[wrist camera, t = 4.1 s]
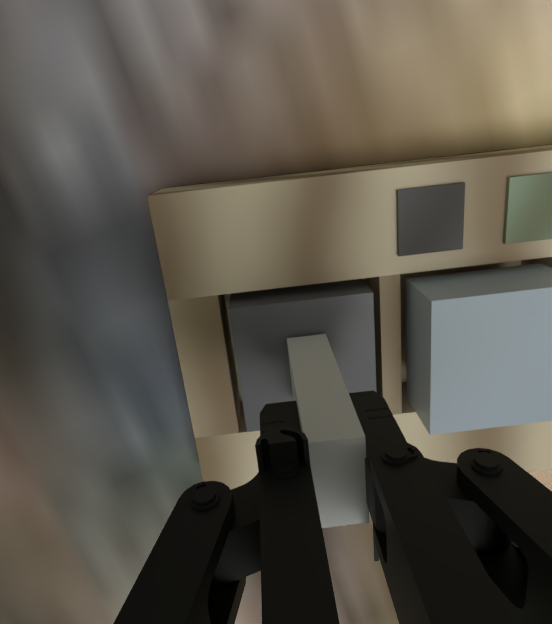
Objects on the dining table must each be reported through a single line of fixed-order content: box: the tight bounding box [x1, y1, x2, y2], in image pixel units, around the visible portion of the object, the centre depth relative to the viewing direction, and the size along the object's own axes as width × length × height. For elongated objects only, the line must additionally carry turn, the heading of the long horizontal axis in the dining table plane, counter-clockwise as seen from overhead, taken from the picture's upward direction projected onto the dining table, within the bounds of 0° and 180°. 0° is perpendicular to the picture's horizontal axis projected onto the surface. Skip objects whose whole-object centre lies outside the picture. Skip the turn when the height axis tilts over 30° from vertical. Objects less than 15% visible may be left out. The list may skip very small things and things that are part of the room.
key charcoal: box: [229, 279, 377, 432], centre depth 19 cm, size 5×5×3 cm
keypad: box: [147, 145, 552, 490], centre depth 20 cm, size 24×14×3 cm, turn 96°
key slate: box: [406, 263, 552, 435], centre depth 18 cm, size 5×5×3 cm
